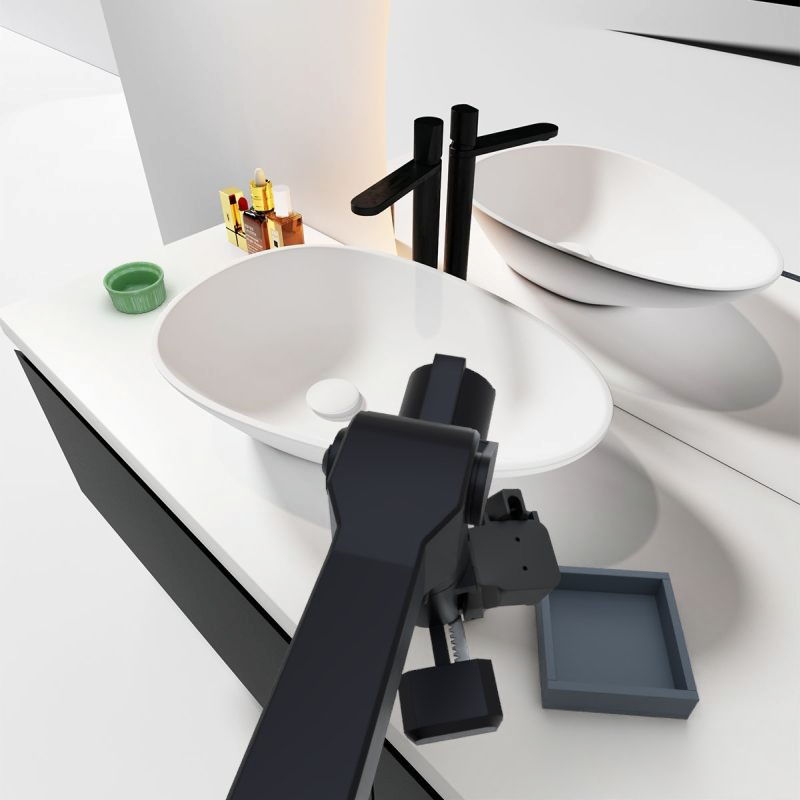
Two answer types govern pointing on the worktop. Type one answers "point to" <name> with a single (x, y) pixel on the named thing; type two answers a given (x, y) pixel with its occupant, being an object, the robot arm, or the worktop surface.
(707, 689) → the worktop surface
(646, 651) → the bin
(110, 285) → the ramekin
